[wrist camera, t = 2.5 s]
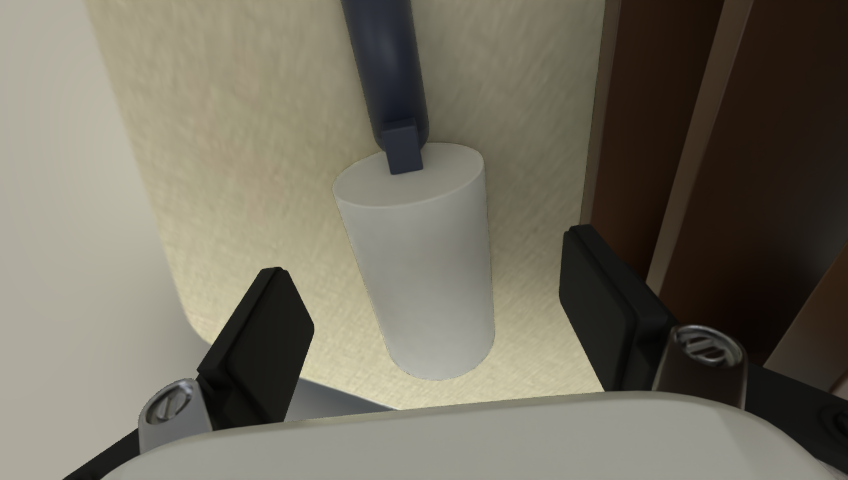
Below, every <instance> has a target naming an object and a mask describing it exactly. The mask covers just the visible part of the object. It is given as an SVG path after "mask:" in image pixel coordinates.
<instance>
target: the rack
mask: <svg viewBox="0 0 848 480" xmlns="http://www.w3.org/2000/svg"><path fill="white" fill-rule="evenodd" d="M584 224H591V225H592V226H593V227H594V229H595V230H596V231H597V232H598V233H599V234H600V236H601V237H602V238H603V239H604V240H605V242H606V243H607V244H608V245H609V246H610V248H611V249H612V250H613V251H614V252H615V253H616V255H617V256H618V257H619V258H620V259H621V261H622V260H623V261H626V262H627V263H629V264H630V265H631V266H632V268H633V269H634V270H635V271H636V272H637V273H638V275H639V276H640V277H641V278H642V279H643V280H644V282H645V283H646V284H647V285H648V286H649V287H650V289H651V290H652V291H653V292H654V293H655V294H656V295H657V297H658V298H659V299H660V300H661V301H662V302H663V304H664V305H665V306H666V307H667V308H668V309H669V311H670V312H671V313H672V314H673V315H674V316H675V318H676V319H677V320H678V321H679V322H680V323H686V322H695V323H702V324H707V325H711V326H713V327H716V328H718V329H721V330H723V331H724V332H726V333H728V334H729V335H731V336H733V337H734V338H735V339H736V340H737V341H738V342H740V343H741V344H742V346H743V347H744V349H745V350H746V352H747V355H748V360H749V362H751V363H754V364H757V365H759V366H762V367H764V368H767V369H769V370H772V371H774V372H777V373H779V374H782V375H784V376H787V377H790V378H792V379H795V380H797V381H800V382H802V383H805V384H807V385H810V386H812V387H815V388H818V389H820V390H823V391H825V392H828V393H830V394H833V395H835V396H838V397H840V398H843V399H845V400H848V0H606V9H605V17H604V25H603V34H602V42H601V51H600V59H599V68H598V76H597V84H596V93H595V101H594V110H593V118H592V127H591V135H590V144H589V152H588V160H587V169H586V177H585V186H584V194H583V203H582V211H581V219H580V225H584Z"/></svg>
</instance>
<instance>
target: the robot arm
mask: <svg viewBox="0 0 848 480" xmlns="http://www.w3.org/2000/svg"><path fill="white" fill-rule="evenodd" d="M559 298H560V302H561V305H562V307H563V309H564V311H565V313H566V315H567V317H568V319H569V321H570V323H571V325H572V327H573V329H574V331H575V333H576V335H577V337H578V339H579V341H580V343H581V345H582V347H583V349H584V351H585V353H586V355H587V357H588V359H589V361H590V363H591V365H592V367H593V369H594V371H595V373H596V375H597V377H598V379H599V381H600V383H601V385H602V387H603V389H604V391H605V392H596V393H582V394H569V395H556V396H544V397H533V398H522V399H512V400H501V401H490V402H479V403H469V404H458V405H448V406H437V407H427V408H417V409H407V410H397V411H387V412H376V413H366V414H357V415H347V416H337V417H328V418H318V419H308V420H299V421H289V422H284V419H285V416H286V413H287V410H288V407H289V404H290V402H291V399H292V396H293V393H294V390H295V387H296V384H297V381H298V378H299V375H300V373H301V370H302V367H303V364H304V361H305V358H306V355H307V352H308V349H309V346H310V343H311V341H312V338H313V335H314V324H313V321H312V319H311V317H310V315H309V313H308V311H307V309H306V307H305V305H304V303H303V301H302V299H301V297H300V295H299V293H298V291H297V289H296V287H295V285H294V283H293V281H292V279H291V277H290V275H289V273H288V271H287V270H283V269H282V268H281V267H272V268H265V269H262V270H261V271H260V272H259V274H258V275H257V277H256V278H255V280H254V281H253V283H252V285H251V286H250V288H249V289H248V291H247V292H246V294H245V295H244V297H243V299H242V300H241V302H240V303H239V305H238V306H237V308H236V309H235V311H234V312H233V314H232V316H231V317H230V319H229V320H228V322H227V323H226V325H225V326H224V328H223V329H222V331H221V333H220V334H219V336H218V337H217V339H216V340H215V342H214V343H213V345H212V347H211V348H210V350H209V351H208V353H207V354H206V356H205V358H204V359H203V361H202V362H201V364H200V365H199V367H198V368H197V371H198V372H199V375H198V377H197V378H196V380H194V379H192V378H189V379H182V380H178V381H175V382H173V383H171V384H169V385H167V386H166V387H164V388H163V389H161V390H160V391H158V392H157V393H156V394H155V395H154V396H153V397H152V398H151V399H150V400H149V401H148V402H147V403H146V405H145V406H144V408H143V409H142V411H141V413H140V415H139V420H138V428H137V429H135V430H134V431H133V432H131V433H130V434H128V435H127V436H125V437H124V438H122V439H121V440H120V441H118V442H116V443H115V444H114V445H112V446H111V447H109V448H108V449H106V450H105V451H103V452H102V453H100V454H99V455H97V456H96V457H94V458H93V459H92V460H90V461H89V462H87V463H86V464H84V465H83V466H81V467H80V468H78V469H77V470H76V471H74V472H72V473H71V474H70V475H68V476H67V477H65V478H64V479H63V480H848V400H845V399H843V398H840V397H838V396H835V395H833V394H830V393H828V392H825V391H823V390H820V389H818V388H815V387H812V386H810V385H807V384H805V383H802V382H800V381H797V380H795V379H792V378H790V377H787V376H784V375H782V374H779V373H777V372H774V371H772V370H769V369H767V368H764V367H762V366H759V365H757V364H754V363H751V362H749V360H748V355H747V352H746V350H745V349H744V347H743V346H742V344H741V343H740V342H738V341H737V340H736V339H735V338H734V337H733V336H731V335H729V334H728V333H726V332H724V331H723V330H721V329H718V328H716V327H713V326H711V325H707V324H702V323H695V322H686V323H680V322H679V321H678V320H677V319H676V318H675V316H674V315H673V314H672V313H671V312H670V311H669V309H668V308H667V307H666V306H665V305H664V304H663V302H662V301H661V300H660V299H659V298H658V297H657V295H656V294H655V293H654V292H653V291H652V290H651V289H650V287H649V286H648V285H647V284H646V283H645V282H644V280H643V279H642V278H641V277H640V276H639V275H638V273H637V272H636V271H635V270H634V269H633V268H632V266H631V265H630V264H629V263H627V262H626V261H623V260H622V261H621V259H620V258H619V257H618V256H617V255H616V253H615V252H614V251H613V250H612V249H611V248H610V246H609V245H608V244H607V243H606V242H605V240H604V239H603V238H602V237H601V236H600V234H599V233H598V232H597V231H596V230H595V229H594V227H593V226H592V225H591V224H584V225H576V226H571V227H570V229H569V231H565V232H564V236H563V248H562V260H561V273H560V286H559Z"/></svg>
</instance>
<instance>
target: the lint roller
mask: <svg viewBox="0 0 848 480" xmlns="http://www.w3.org/2000/svg"><path fill="white" fill-rule="evenodd" d="M341 3H342V8H343V12H344V16H345V20H346V24H347V28H348V32H349V36H350V40H351V44H352V48H353V52H354V56H355V61H356V65H357V69H358V73H359V77H360V81H361V85H362V89H363V93H364V97H365V101H366V105H367V109H368V114H369V118H370V122H371V126H372V130H373V134H374V137H375V140H376V142H377V144H378V145H379V147H380V148H381V149H382V150H383V151H381V152H379V153H376V154H373V155H370V156H368V157H366V158H363V159H361V160H359V161H357V162H356V163H354V164H352V165H350V166H349V167H347V168H346V169H345V170H343V171H342V172H341V173H340V174H339V175H338V176H337V178H336V179H335V181H334V183H333V187H332V190H333V195H334V197H335V200H336V203H337V206H338V209H339V212H340V215H341V218H342V220H343V223H344V226H345V229H346V232H347V235H348V238H349V241H350V243H351V246H352V249H353V252H354V255H355V258H356V261H357V264H358V266H359V269H360V272H361V275H362V278H363V281H364V284H365V287H366V289H367V292H368V295H369V298H370V301H371V304H372V307H373V310H374V312H375V315H376V318H377V321H378V324H379V327H380V330H381V333H382V335H383V338H384V341H385V344H386V347H387V350H388V352H389V355H390V357H391V359H392V360H393V362H394V363H395V364H396V365H397V366H398V367H399V368H400V369H401V370H403V371H404V372H406V373H408V374H409V375H412V376H414V377H417V378H420V379H425V380H447V379H452V378H455V377H458V376H461V375H463V374H465V373H467V372H469V371H471V370H472V369H474V368H475V367H477V366H478V365H479V364H480V363H481V362H482V361H483V360H484V359H485V358H486V356H487V355H488V353H489V352H490V350H491V348H492V345H493V342H494V337H495V325H494V309H493V293H492V277H491V262H490V246H489V230H488V214H487V198H486V182H485V166H484V159H483V157H482V156H481V154H480V153H479V152H477V151H476V150H474V149H472V148H470V147H467V146H464V145H460V144H454V143H438V142H436V143H426V141H427V138H428V134H429V122H428V116H427V109H426V102H425V96H424V89H423V82H422V76H421V69H420V62H419V56H418V49H417V42H416V36H415V29H414V22H413V16H412V9H411V2H410V0H341Z"/></svg>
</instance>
